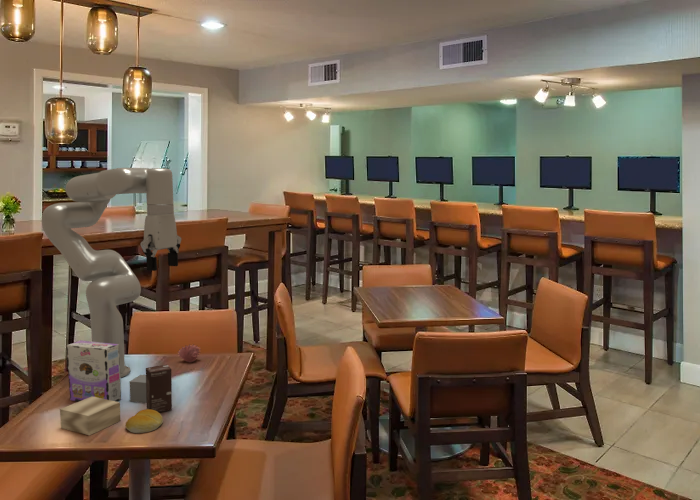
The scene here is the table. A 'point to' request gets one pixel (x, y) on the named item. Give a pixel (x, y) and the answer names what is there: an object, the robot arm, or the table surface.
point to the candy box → (94, 370)
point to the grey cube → (138, 389)
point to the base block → (90, 415)
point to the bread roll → (144, 421)
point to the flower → (189, 353)
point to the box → (159, 388)
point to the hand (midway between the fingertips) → (162, 268)
